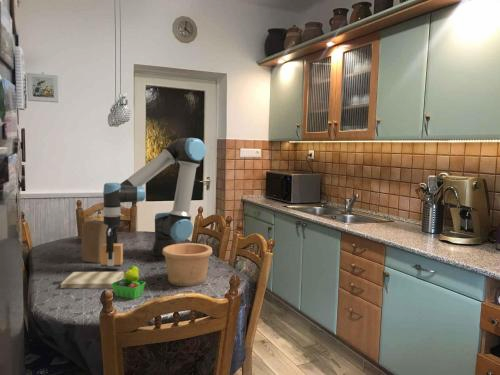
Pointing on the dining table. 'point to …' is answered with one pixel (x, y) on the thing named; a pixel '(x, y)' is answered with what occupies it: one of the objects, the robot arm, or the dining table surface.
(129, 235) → the dining table surface
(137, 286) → the fruit basket
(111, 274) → the birch board
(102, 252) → the block
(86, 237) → the wooden block
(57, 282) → the gray square block
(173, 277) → the pottery
